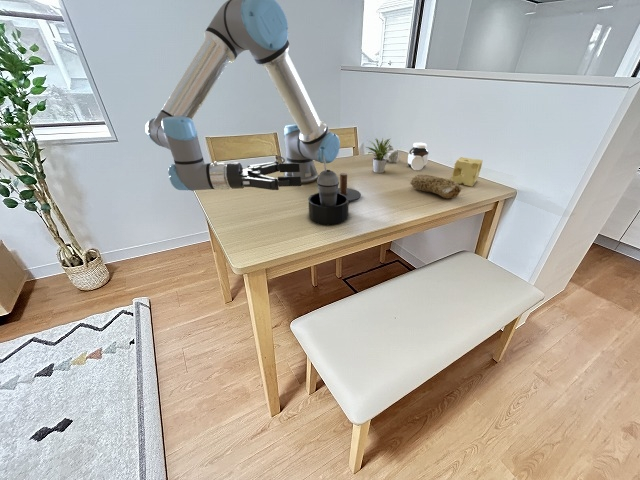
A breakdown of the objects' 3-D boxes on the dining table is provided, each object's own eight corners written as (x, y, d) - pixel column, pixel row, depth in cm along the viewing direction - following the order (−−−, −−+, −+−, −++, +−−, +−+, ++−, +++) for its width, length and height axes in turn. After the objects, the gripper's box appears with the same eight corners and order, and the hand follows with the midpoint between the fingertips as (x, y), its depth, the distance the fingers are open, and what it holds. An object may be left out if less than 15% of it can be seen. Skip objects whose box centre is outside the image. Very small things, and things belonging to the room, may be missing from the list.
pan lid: (324, 190, 117) (323, 169, 112) (357, 189, 119) (357, 168, 114) (327, 204, 105) (327, 180, 100) (364, 202, 108) (365, 179, 102)
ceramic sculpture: (391, 148, 146) (373, 144, 157) (389, 164, 151) (372, 160, 161) (405, 146, 152) (387, 142, 162) (403, 162, 156) (386, 158, 166)
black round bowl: (308, 209, 101) (307, 192, 97) (344, 207, 103) (344, 191, 99) (310, 226, 90) (309, 208, 86) (351, 224, 92) (351, 206, 89)
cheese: (472, 187, 126) (479, 164, 120) (449, 182, 130) (454, 160, 124) (477, 181, 133) (483, 159, 127) (454, 176, 138) (460, 155, 132)
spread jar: (420, 164, 155) (423, 141, 148) (432, 169, 146) (437, 146, 140) (401, 165, 151) (404, 143, 144) (413, 171, 142) (417, 148, 136)
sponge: (460, 199, 116) (428, 176, 127) (466, 183, 110) (431, 161, 121) (437, 210, 112) (405, 186, 123) (441, 194, 106) (408, 170, 117)
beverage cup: (336, 221, 93) (336, 159, 81) (315, 218, 94) (312, 157, 82) (341, 212, 99) (341, 153, 87) (321, 210, 100) (319, 152, 88)
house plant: (374, 165, 151) (377, 132, 141) (397, 170, 144) (401, 136, 135) (360, 171, 141) (361, 136, 132) (383, 176, 135) (387, 140, 125)
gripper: (217, 176, 71) (300, 174, 74) (232, 152, 91) (298, 151, 94) (224, 204, 75) (302, 200, 79) (237, 175, 95) (299, 173, 99)
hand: (300, 173), depth 86 cm, fingers open, 13 cm apart
